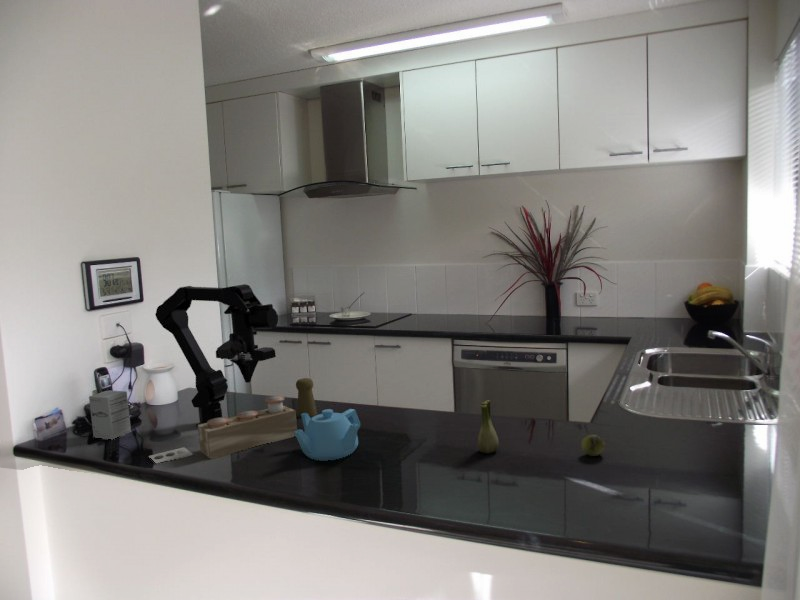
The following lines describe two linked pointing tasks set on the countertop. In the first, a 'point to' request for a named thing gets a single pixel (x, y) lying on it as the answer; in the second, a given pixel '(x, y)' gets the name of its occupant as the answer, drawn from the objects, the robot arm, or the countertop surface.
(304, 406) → the cork
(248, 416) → the middle button
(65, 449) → the countertop surface
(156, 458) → the pattern card
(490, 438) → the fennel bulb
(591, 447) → the lime
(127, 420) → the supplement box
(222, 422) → the button
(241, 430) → the button box
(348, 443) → the teapot
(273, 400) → the button
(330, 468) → the countertop surface
